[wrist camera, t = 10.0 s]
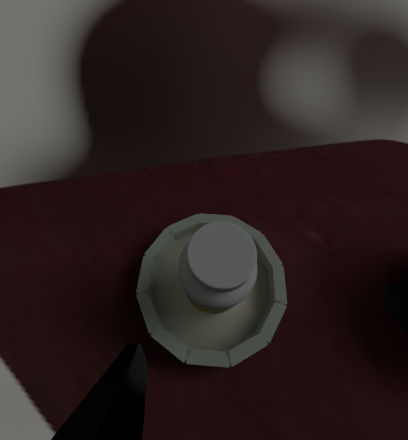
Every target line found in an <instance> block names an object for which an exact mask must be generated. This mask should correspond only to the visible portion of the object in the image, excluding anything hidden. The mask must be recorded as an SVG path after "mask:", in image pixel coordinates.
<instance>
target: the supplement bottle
mask: <svg viewBox="0 0 408 440" xmlns="http://www.w3.org/2000/svg"><path fill="white" fill-rule="evenodd" d="M178 271H179V277H180V281H181V283H182V286H183V288H184V290H185V293H186V295H187V297H188V299H189V300H190V302H191V303H192V304H193V305H194V306H195V307H196V308H197V309H199V310H200V311H202V312H205V313H209V314H219V313H223V312H225V311H227V310H229V309H231V308H232V307H234V306H235V305H237V304H238V303H240V302H241V301H243V300H244V299H245V298H246V297H247V296H248V294H249V293H250V292H251V290H252V288H253V287H254V284H255V282H256V278H257V250H256V246H255V244H254V242H253V240H252V238H251V237H250V235H249V234H248V233H247V232H246V231H245V230H244V229H243V228H241V227H239V226H238V225H236V224H233V223H230V222H225V221H216V222H211V223H208V224H206V225H204V226H202V227H200V228H199V229H198V230H197V231H196V232H195V233H194V234H193V236H192V237H191V239H190V240H189V241H188V243H187V244H186V245H185V247H184V248H183V250H182V252H181V255H180V258H179V264H178Z"/></svg>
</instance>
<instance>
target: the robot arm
mask: <svg viewBox="0 0 408 440" xmlns="http://www.w3.org/2000/svg"><path fill="white" fill-rule="evenodd" d="M384 306H385V308H386V309H387V311H388V312H389V313H390V314H391V315H392V316H393V317H394V318H395V319H396V320H397V321H398V323H399V324H400V325H401V326H402V327H403V328H404V329H405V330H406V331H407V332H408V284H406V283H402V282H392V283H388V284H386V285H385V287H384ZM146 375H147V362H146V358H145V355H144V353H143V350H142V347H141V345H140V343H133V344H129V345H127V346H126V347H125V348H124V350H123V351H122V352H121V353H120V355H119V356H118V357H117V358H116V359H115V361H114V362H113V363H112V364H111V366H110V367H109V368H108V369H107V371H106V372H105V373H104V374H103V376H102V377H101V378H100V379H99V381H98V382H97V383H96V384H95V386H94V387H93V388H92V389H91V391H90V392H89V393H88V394H87V396H86V397H85V398H84V399H83V401H82V402H81V403H80V404H79V406H78V407H77V408H76V409H75V411H74V412H73V413H72V414H71V416H70V417H69V418H68V419H67V421H66V422H65V423H64V424H63V425H62V427H61V428H60V429H59V430H58V432H57V433H56V434H55V435H54V437H53V438H52V440H141V438H142V431H143V423H144V411H145V393H146Z"/></svg>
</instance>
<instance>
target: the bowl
mask: <svg viewBox="0 0 408 440" xmlns="http://www.w3.org/2000/svg"><path fill="white" fill-rule="evenodd" d="M231 218H232V219H231ZM216 221H225V222H230V223H233V224H236V225H238V226H239V227H241V228H243V229H244V230H245V231H246V232H247V233H248V234H249V235H250V237H251V238H252V240H253V242H254V244H255V246H256V250H257V278H256V282H255V284H254V287H253V288H252V290H251V292H250V293H249V294H248V296H247V297H246V298H245V299H244V300H243V301H241V302H240V303H238V304H237V305H235V306H234V307H232V308H231V309H229V310H227V311H225V312H223V313H219V314H209V313H205V312H202V311H200V310H199V309H197V308H196V307H195V306H194V305H193V304H192V303H191V302H190V300H189V299H188V297H187V295H186V293H185V290H184V288H183V286H182V283H181V281H180V277H179V271H178V264H179V258H180V255H181V252H182V250H183V248H184V247H185V245H186V244H187V243H188V241H189V240H190V239H191V237H192V236H193V234H194V233H195V232H196V231H197V230H198V229H199V228H200V227H202V226H204V225H206V224H208V223H211V222H216ZM261 234H262V233H261V232H259V231H258V230H256V229H254V228H253V227H251V226H249V225H247V224H246V223H244V222H242V221H241V220H239V219H237V218H235V217H234V216H233V217H232V216H228V215H214V214H200V213H199V215H198V214H196V215H194V216H191V217H189V218H186V219H184V220H182V221H179V222H177V223H175V224H172V225H170V226H168V228H165V230H164V231H163V232H162V233H161V234H160V236H159V237H158V238H157V239H156V240H155V242H154V243H153V244H152V245H151V246H150V248H149V249H148V250H147V251H146V252H145V256H143V260H142V265H141V270H140V275H139V280H138V285H137V290H136V293H137V295H136V296H137V299H138V302H139V305H140V308H141V311H142V314H143V317H144V320H145V323H146V326H147V329H148V332H149V334H151V337H153V338H154V339H155V340H156V341H157V342H159V343H160V344H161V345H162V346H164V347H165V348H166V349H167V350H168V351H170V352H171V353H172V354H173V355H175V356H176V357H177V358H178V359H179V360H181V361H182V362H183V363H184V362H185V361H186V359H187V361H186V364H191V365H204V366H217V367H229V368H230V365H231V367H233V366H234V365H236V364H238V363H239V362H241V361H242V360H244V359H246V358H247V357H249V356H251V355H252V354H254V353H256V352H257V351H259V350H261V349H262V348H264V347H265V346H267V345H268V344H267V343H270V341H271V339H272V337H273V335H274V333H275V331H276V328H277V326H278V324H279V322H280V320H281V318H282V316H283V313H284V311H285V309H286V307H287V306H286V305H285V304H287V297H286V287H285V276H284V266H281V265H282V262H281V260H280V259H279V257H278V256H277V254H276V253H275V251H274V250H273V248H272V247H271V245H270V244H269V242H268V241H267V239H266V238H265V236H264V235H261ZM260 235H261V236H260Z"/></svg>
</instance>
